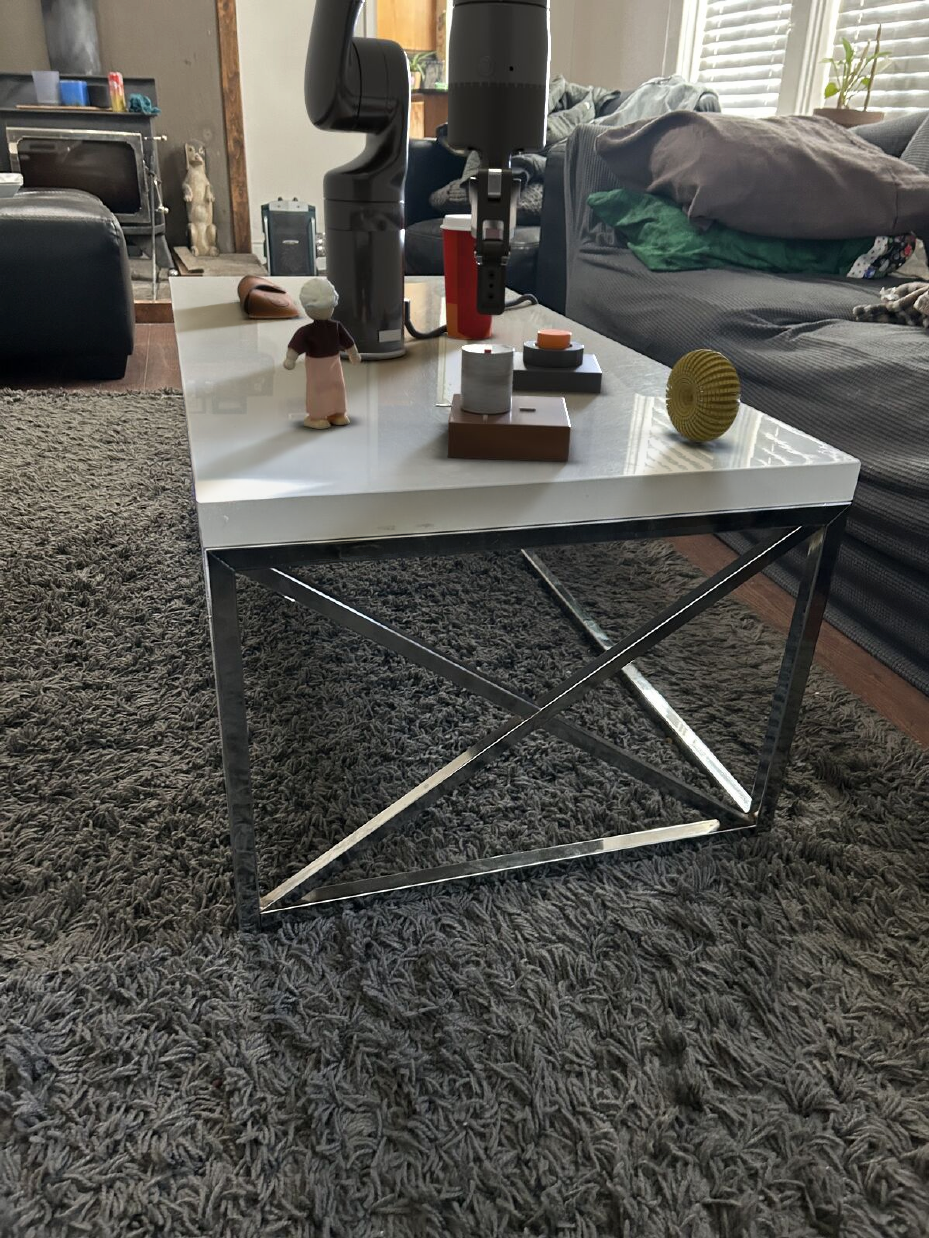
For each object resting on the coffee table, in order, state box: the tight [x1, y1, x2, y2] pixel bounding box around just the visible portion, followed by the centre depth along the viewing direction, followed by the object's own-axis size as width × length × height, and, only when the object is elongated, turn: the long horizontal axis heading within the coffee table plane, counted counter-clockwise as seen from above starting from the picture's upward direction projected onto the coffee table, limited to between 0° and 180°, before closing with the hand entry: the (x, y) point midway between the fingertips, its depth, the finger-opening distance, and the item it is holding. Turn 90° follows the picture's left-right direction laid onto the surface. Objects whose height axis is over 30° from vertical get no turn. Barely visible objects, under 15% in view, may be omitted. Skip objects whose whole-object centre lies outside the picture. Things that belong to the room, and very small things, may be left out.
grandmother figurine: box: [282, 277, 362, 430], centre depth 85 cm, size 8×4×13 cm, turn 141°
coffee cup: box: [439, 214, 494, 340], centre depth 127 cm, size 8×8×15 cm
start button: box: [536, 328, 572, 349], centre depth 104 cm, size 4×4×2 cm
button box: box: [512, 339, 603, 394], centre depth 105 cm, size 10×10×4 cm
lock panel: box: [435, 393, 572, 462], centre depth 83 cm, size 10×11×3 cm
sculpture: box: [664, 348, 742, 443], centre depth 84 cm, size 8×4×8 cm, turn 24°
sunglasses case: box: [236, 274, 300, 320], centre depth 144 cm, size 18×7×7 cm
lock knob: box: [460, 342, 515, 414], centre depth 81 cm, size 4×4×5 cm
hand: (490, 306), depth 78 cm, fingers open, 8 cm apart
